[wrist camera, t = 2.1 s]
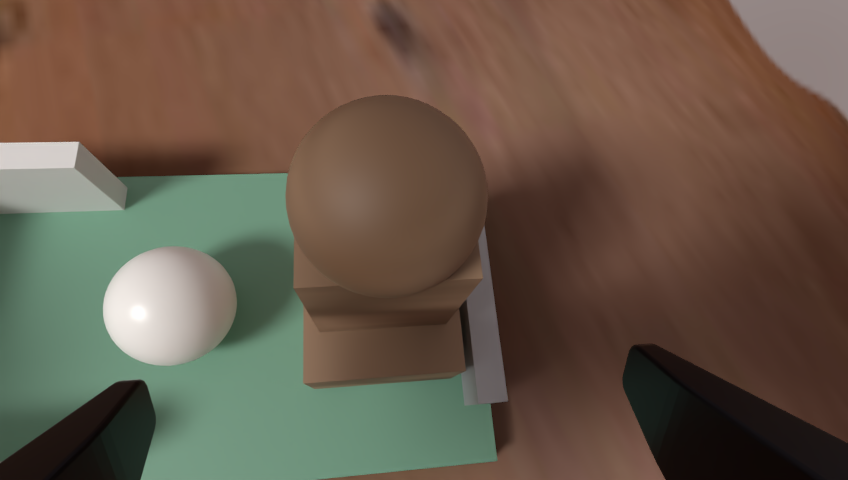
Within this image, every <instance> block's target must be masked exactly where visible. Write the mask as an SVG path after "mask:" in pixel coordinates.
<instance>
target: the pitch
mask: <svg viewBox="0 0 848 480" xmlns="http://www.w3.org/2000/svg"><path fill="white" fill-rule="evenodd" d="M287 176H288V173H277V174H232V175H188V176H144V177H116V176H115V175H114V174H112V173H111V172H110V171H109V170H108V169H107V168H106V167H105V166H104V165H103V164H102V163H101V162H100V161H99V160H98V159H97V158H96V157H95V156H93V155H92V154H91V153H90V152H89V151H88V150H87V149H86V148H85V147H84V146H83V145H82V144H81V143H80V142H35V143H0V462H2V461H3V460H5V459H6V458H8V457H9V456H10V455H12V454H13V453H15V452H16V451H18V450H19V449H20V448H22V447H23V446H25V445H26V444H28V443H29V442H30V441H32V440H33V439H35V438H36V437H38V436H39V435H41V434H42V433H43V432H45V431H46V430H48V429H49V428H51V427H52V426H53V425H55V424H56V423H58V422H59V421H61V420H62V419H63V418H65V417H66V416H68V415H69V414H71V413H72V412H73V411H75V410H76V409H78V408H79V407H81V406H82V405H83V404H85V403H86V402H88V401H89V400H91V399H92V398H93V397H95V396H96V395H98V394H99V393H101V392H102V391H103V390H105V389H106V388H108V387H109V386H111V385H112V384H114V383H115V382H117V381H122V380H135V379H141V380H143V381H145V383H146V384H147V386H148V390H149V393H150V396H151V400H152V403H153V407H154V410H155V414H156V426H155V431H154V434H153V438H152V441H151V445H150V448H149V452H148V455H147V459H146V463H145V466H144V470H143V473H142V477H141V480H317V479H326V478H336V477H346V476H356V475H366V474H375V473H385V472H395V471H405V470H414V469H424V468H434V467H444V466H454V465H463V464H473V463H483V462H493V461H497V454H496V445H495V437H494V429H493V421H492V413H491V404H490V403H498V402H507V401H508V397H507V390H506V382H505V375H504V367H503V360H502V352H501V345H500V337H499V330H498V322H497V315H496V308H495V300H494V293H493V285H492V278H491V270H490V263H489V255H488V248H487V240H486V233H485V226H484V227H483V230H482V232H481V235H480V238H479V240H478V242H479V250H480V258H481V266H482V274H483V279H482V280H481V282H480V283H479V284H478V285H477V286H476V288H475V289H474V290H473V291H472V293H471V294H470V295H469V296H468V298H467V299H466V300H465V301H464V302H463V304H462V305H461V306H460V307H459V311H460V320H461V330H462V339H463V348H464V357H465V367H466V371H465V372H463V373H461V374H458V375H456V376H454V377H452V378H450V379H438V380H425V381H412V382H400V383H387V384H374V385H361V386H349V387H336V388H323V389H313V388H311V387H309V386H307V385H305V384H303V303H302V302H301V300H300V298H299V297H298V295H297V293H296V292H295V290H294V288H293V284H294V236H293V233H292V230H291V227H290V224H289V220H288V215H287V210H286V198H285V194H286V183H287ZM167 246H180V247H188V248H192V249H195V250H199V251H201V252H203V253H206V254H208V255H209V256H211V257H212V258H214V259H215V260H216V261H218V262H219V263H220V264H221V265H222V266H223V267H224V268H225V270H226V271H227V272H228V274H229V276H230V277H231V279H232V281H233V284H234V287H235V291H236V297H237V309H236V315H235V318H234V321H233V323H232V326H231V328H230V330H229V331H228V333H227V335H226V336H225V337H224V339H223V340H222V341H221V342H220V343H219V344H218V345H217V346H216V347H215V348H214V349H213V350H211V351H210V352H209V353H207V354H206V355H204V356H202V357H200V358H198V359H196V360H194V361H191V362H188V363H184V364H179V365H172V366H159V365H152V364H147V363H144V362H141V361H139V360H136V359H134V358H132V357H130V356H129V355H127V354H126V353H124V352H123V351H122V350H121V349H120V348H119V347H118V346H117V345H116V344H115V343H114V341H113V340H112V339H111V337H110V335H109V333H108V331H107V329H106V326H105V323H104V318H103V302H104V297H105V293H106V290H107V288H108V285H109V283H110V282H111V280H112V278H113V277H114V276H115V274H116V273H117V272H118V271H119V269H120V268H121V267H122V266H124V265H125V264H126V263H127V262H128V261H130V260H131V259H133V258H134V257H136V256H138V255H139V254H142V253H144V252H146V251H149V250H152V249H156V248H160V247H167Z"/></svg>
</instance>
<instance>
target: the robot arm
mask: <svg viewBox="0 0 848 480" xmlns="http://www.w3.org/2000/svg"><path fill="white" fill-rule="evenodd" d="M623 387H624V390H625V393H626V395H627V397H628V400H629V402H630V404H631V407H632V409H633V411H634V413H635V416H636V418H637V420H638V423H639V425H640V427H641V429H642V432H643V434H644V436H645V439H646V441H647V443H648V445H649V448H650V450H651V452H652V454H653V456H654V458H655V460H656V462H657V464H658V466H659V468H660V470H661V472H662V474H663V476H664V477H665V479H666V480H848V443H846V442H844V441H842V440H840V439H838V438H836V437H834V436H832V435H831V434H829V433H827V432H825V431H823V430H821V429H819V428H817V427H815V426H813V425H811V424H809V423H807V422H805V421H803V420H801V419H799V418H797V417H795V416H793V415H792V414H790V413H788V412H786V411H784V410H782V409H780V408H778V407H776V406H774V405H772V404H770V403H768V402H766V401H764V400H762V399H760V398H758V397H756V396H754V395H753V394H751V393H749V392H747V391H745V390H743V389H741V388H739V387H737V386H735V385H733V384H731V383H729V382H727V381H725V380H723V379H721V378H719V377H717V376H715V375H714V374H712V373H710V372H708V371H706V370H704V369H702V368H700V367H698V366H696V365H694V364H692V363H690V362H688V361H686V360H684V359H682V358H680V357H678V356H676V355H675V354H673V353H671V352H669V351H667V350H665V349H663V348H661V347H659V346H657V345H655V344H638V345H634V346H632V347H631V348H630V350H629V354H628V358H627V362H626V366H625V370H624V374H623ZM155 426H156V414H155V410H154V407H153V403H152V400H151V396H150V393H149V390H148V386H147V384H146V383H145V381H143V380H141V379H135V380H122V381H117V382H115V383H114V384H112V385H111V386H109V387H108V388H106V389H105V390H103V391H102V392H101V393H99V394H98V395H96V396H95V397H93V398H92V399H91V400H89V401H88V402H86V403H85V404H83V405H82V406H81V407H79V408H78V409H76V410H75V411H73V412H72V413H71V414H69V415H68V416H66V417H65V418H63V419H62V420H61V421H59V422H58V423H56V424H55V425H53V426H52V427H51V428H49V429H48V430H46V431H45V432H43V433H42V434H41V435H39V436H38V437H36V438H35V439H33V440H32V441H30V442H29V443H28V444H26V445H25V446H23V447H22V448H20V449H19V450H18V451H16V452H15V453H13V454H12V455H10V456H9V457H8V458H6V459H5V460H3V461H2V462H0V480H141V477H142V473H143V470H144V466H145V463H146V459H147V455H148V452H149V448H150V445H151V441H152V438H153V434H154V431H155Z"/></svg>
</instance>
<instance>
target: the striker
mask: <svg viewBox="0 0 848 480" xmlns="http://www.w3.org/2000/svg"><path fill="white" fill-rule="evenodd" d="M285 198H286V210H287V215H288V220H289V224H290V227H291V230H292V233H293V236H294V284H293V288H294V290H295V292H296V293H297V295H298V297H299V298H300V300H301V302H302V303H303V384H305V385H307V386H309V387H311V388H313V389H323V388H336V387H349V386H361V385H374V384H387V383H400V382H412V381H425V380H438V379H450V378H452V377H454V376H456V375H458V374H461V373H463V372H465V371H466V367H465V357H464V348H463V339H462V330H461V320H460V311H459V307H460V306H461V305H462V304H463V302H464V301H465V300H466V299H467V298H468V296H469V295H470V294H471V293H472V291H473V290H474V289H475V288H476V286H477V285H478V284H479V283H480V282H481V280H482V279H483V274H482V266H481V258H480V250H479V242H478V240H479V238H480V235H481V232H482V230H483V227H484V224H485V219H486V215H487V204H488V187H487V181H486V176H485V171H484V167H483V164H482V162H481V159H480V156H479V154H478V152H477V150H476V149H475V147H474V145H473V143H472V142H471V140H470V139H469V138H468V136H467V135H466V133H465V132H464V131H463V130H462V129H461V128H460V127H459V125H458V124H456V123H455V122H454V121H453V120H452V119H451V118H450V117H448V116H447V115H445V114H444V113H442V112H441V111H439V110H438V109H436V108H434V107H432V106H430V105H429V104H426V103H424V102H421V101H419V100H415V99H412V98H408V97H402V96H394V95H378V96H370V97H364V98H361V99H357V100H354V101H351V102H349V103H347V104H344V105H342V106H340V107H338V108H336V109H334V110H333V111H331V112H329V113H328V114H327V115H325V116H324V117H323V118H321V119H320V120H319V121H318V122H317V123H316V124H315V125H314V126H313V127H312V128H311V129H310V131H309V132H308V133H307V134H306V136H305V137H304V138H303V139H302V141H301V143H300V145H299V146H298V148H297V150H296V152H295V155H294V157H293V159H292V162H291V164H290V167H289V172H288V176H287V183H286V194H285Z"/></svg>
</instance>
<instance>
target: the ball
mask: <svg viewBox="0 0 848 480" xmlns="http://www.w3.org/2000/svg"><path fill="white" fill-rule="evenodd" d="M236 309H237V297H236V291H235V287H234V284H233V281H232V279H231V277H230V276H229V274H228V272H227V271H226V270H225V268H224V267H223V266H222V265H221V264H220V263H219V262H218V261H216V260H215V259H214V258H212V257H211V256H209V255H208V254H206V253H203V252H201V251H199V250H195V249H192V248H188V247H180V246H167V247H160V248H156V249H152V250H149V251H146V252H144V253H142V254H139V255H138V256H136V257H134V258H133V259H131V260H130V261H128V262H127V263H126V264H125V265H124V266H122V267H121V268H120V269H119V271H118V272H117V273H116V274H115V276H114V277H113V278H112V280H111V282H110V283H109V285H108V288H107V290H106V293H105V297H104V302H103V318H104V323H105V326H106V329H107V331H108V333H109V335H110V337H111V339H112V340H113V341H114V343H115V344H116V345H117V346H118V347H119V348H120V349H121V350H122V351H123V352H124V353H126V354H127V355H129V356H130V357H132V358H134V359H136V360H139V361H141V362H144V363H147V364H152V365H159V366H172V365H179V364H184V363H188V362H191V361H194V360H196V359H198V358H200V357H202V356H204V355H206V354H207V353H209V352H210V351H211V350H213V349H214V348H215V347H216V346H217V345H218V344H219V343H220V342H221V341H222V340H223V339H224V337H225V336H226V335H227V333H228V331H229V330H230V328H231V326H232V323H233V321H234V318H235V315H236Z"/></svg>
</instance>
